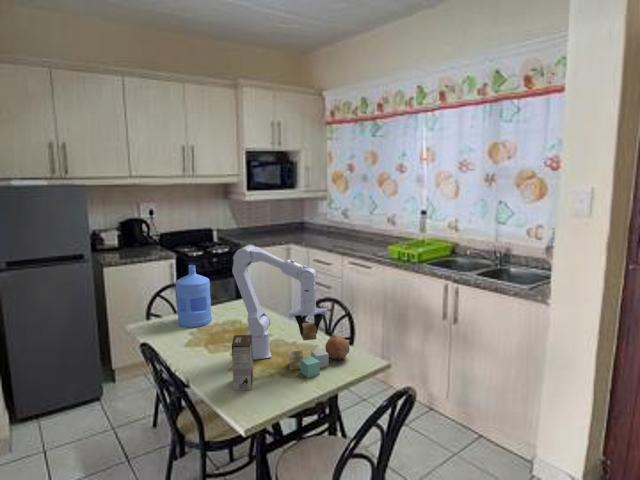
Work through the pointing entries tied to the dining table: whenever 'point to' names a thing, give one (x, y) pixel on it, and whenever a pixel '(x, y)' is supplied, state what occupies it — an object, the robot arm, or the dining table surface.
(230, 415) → the dining table surface
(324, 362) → the grey cube
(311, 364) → the teal cube
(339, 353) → the onion
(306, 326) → the walnut cube
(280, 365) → the dining table surface
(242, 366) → the coffee box
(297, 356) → the maple cube
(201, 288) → the water jug
